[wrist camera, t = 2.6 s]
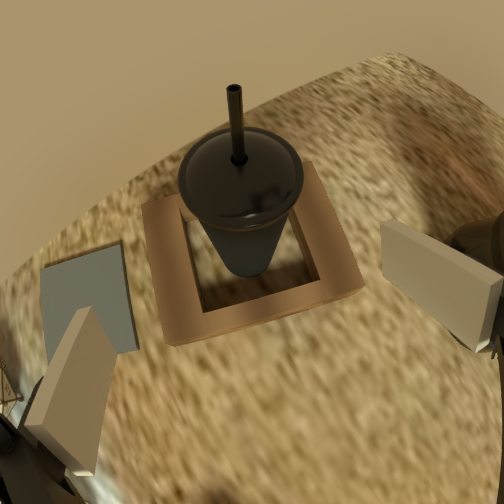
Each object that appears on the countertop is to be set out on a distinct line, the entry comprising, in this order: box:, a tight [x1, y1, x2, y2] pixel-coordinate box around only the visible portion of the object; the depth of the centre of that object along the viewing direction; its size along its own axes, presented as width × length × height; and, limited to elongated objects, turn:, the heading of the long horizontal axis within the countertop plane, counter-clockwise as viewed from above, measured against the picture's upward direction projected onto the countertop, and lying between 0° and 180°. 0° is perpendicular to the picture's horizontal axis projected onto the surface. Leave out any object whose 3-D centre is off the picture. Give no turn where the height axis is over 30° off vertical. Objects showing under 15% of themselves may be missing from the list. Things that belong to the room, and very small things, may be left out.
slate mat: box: [40, 244, 140, 366], centre depth 29 cm, size 11×11×1 cm
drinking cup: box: [178, 84, 304, 278], centre depth 22 cm, size 8×8×20 cm
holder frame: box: [141, 161, 365, 347], centre depth 30 cm, size 18×14×3 cm
